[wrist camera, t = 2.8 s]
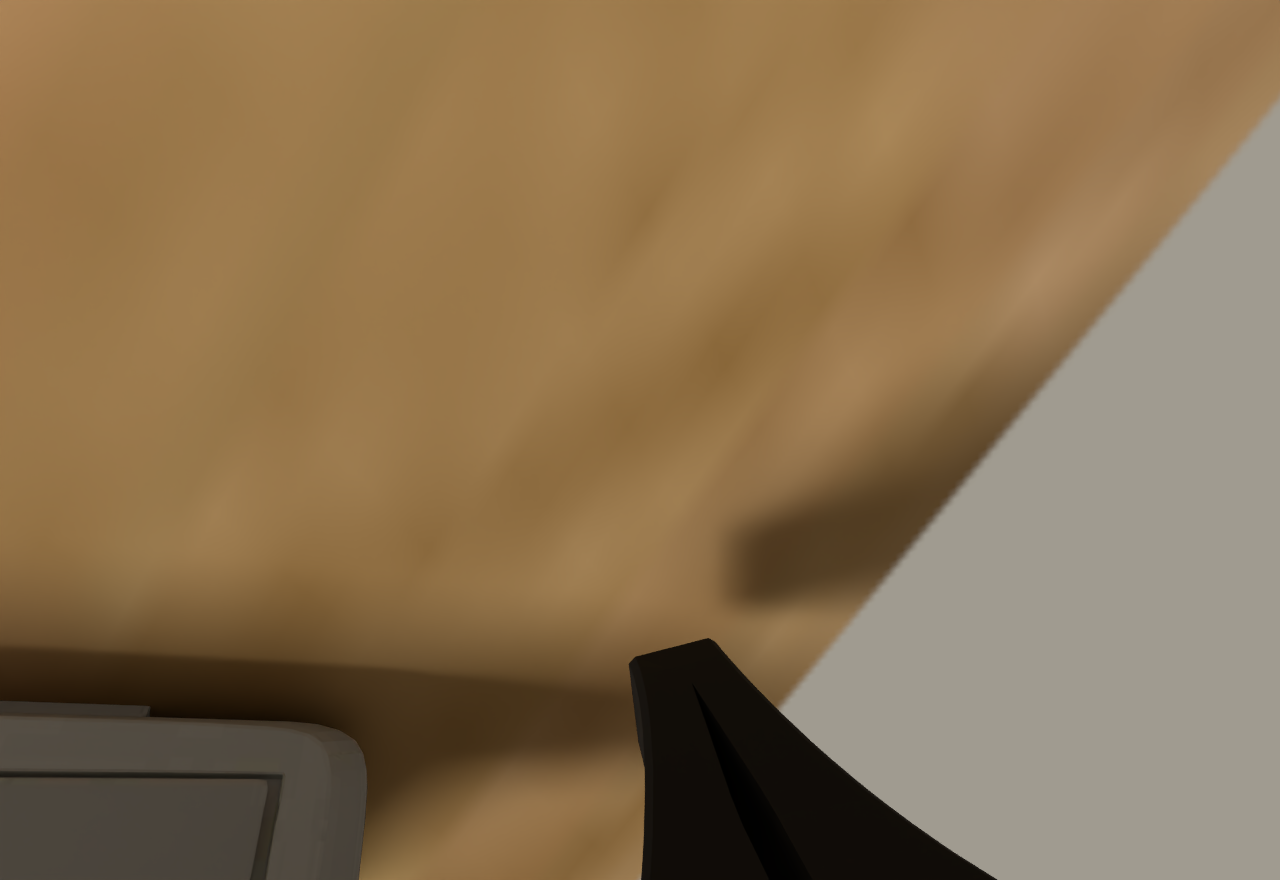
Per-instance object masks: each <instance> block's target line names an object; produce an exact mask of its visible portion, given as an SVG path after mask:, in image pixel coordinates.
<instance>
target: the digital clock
mask: <svg viewBox="0 0 1280 880" xmlns="http://www.w3.org/2000/svg"><path fill="white" fill-rule="evenodd" d="M150 707H151V706H134V705H106V704H78V703H50V702H23V701H0V880H359V871H360V862H361V852H362V843H363V834H364V825H365V814H366V799H367V770H366V765H365V760H364V755H363V752H362V751H361V749H360V747H359V746H358V744H357V742H356V740H354V739H353V738H351V737H350V736H348V735H346V734H345V733H343V732H342V731H340V730H337V729H333V728H330V727H326V726H323V725H319V724H311V723H301V722H291V721H260V720H228V719H197V718H165V717H150Z"/></svg>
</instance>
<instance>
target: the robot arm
mask: <svg viewBox="0 0 1280 880" xmlns="http://www.w3.org/2000/svg"><path fill="white" fill-rule="evenodd" d="M629 670H630V678H631V686H632V694H633V702H634V710H635V718H636V726H637V735H638V742H639V746H640V750H641V754H642V758H643V762H644V767H645V813H644V845H643V862H642V876H641V880H997V879H995V878H994V877H992V876H990V875H989V874H987V873H986V872H984V871H983V870H981V869H979V868H978V867H976V866H975V865H973V864H972V863H970V862H968V861H967V860H965V859H963V858H962V857H960V856H959V855H957V854H956V853H954V852H952V851H951V850H950V849H948V848H947V847H945V846H944V845H942V844H941V843H939V842H938V841H936V840H935V839H934V838H932V837H931V836H929V835H928V834H927V833H925V832H924V831H922V830H921V829H919V828H918V827H917V826H915V825H914V824H912V823H911V822H910V821H908V820H907V819H906V818H904V817H903V816H902V815H900V814H899V813H898V812H896V811H895V810H894V809H892V808H891V807H889V806H888V805H887V804H885V803H884V802H883V801H882V800H880V799H879V798H878V797H876V796H875V795H874V794H873V793H871V792H870V791H868V789H866V788H865V787H864V786H863V785H861V784H860V783H859V782H858V781H856V780H855V779H854V778H853V777H852V776H850V775H849V774H848V773H847V772H846V771H845V770H843V769H842V768H841V767H840V766H839V765H838V764H836V763H835V762H834V761H833V760H832V759H830V758H829V757H828V756H827V755H826V754H825V753H824V752H823V751H821V750H820V749H819V748H818V747H817V746H816V745H815V744H814V743H812V742H811V741H810V740H809V739H808V738H807V737H806V736H805V735H804V734H803V733H802V732H801V731H800V730H799V729H798V728H796V727H795V726H794V725H793V724H792V723H791V722H790V721H789V720H788V719H787V718H786V717H785V716H784V715H783V714H782V713H781V712H780V711H779V710H778V709H777V708H776V707H775V706H774V705H773V704H772V703H771V702H770V701H769V700H768V699H767V698H766V697H765V696H764V695H763V694H762V693H761V692H760V691H759V690H758V689H757V688H756V687H755V686H754V685H753V684H752V683H751V682H750V681H749V680H748V679H747V678H746V676H745V675H744V674H743V673H742V672H741V671H740V670H739V669H738V668H737V667H736V666H735V664H734V663H733V662H732V661H731V660H730V659H729V658H728V656H727V655H726V654H725V653H724V652H723V651H722V650H721V648H720V647H719V646H718V645H717V644H716V642H714V641H713V640H711V639H709V638H707V639H703V640H699V641H695V642H691V643H687V644H683V645H680V646H676V647H672V648H668V649H664V650H660V651H656V652H652V653H648V654H645V655H641V656H637V657H635V658H634V659H633V660H632V661H631V662H630V663H629Z"/></svg>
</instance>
